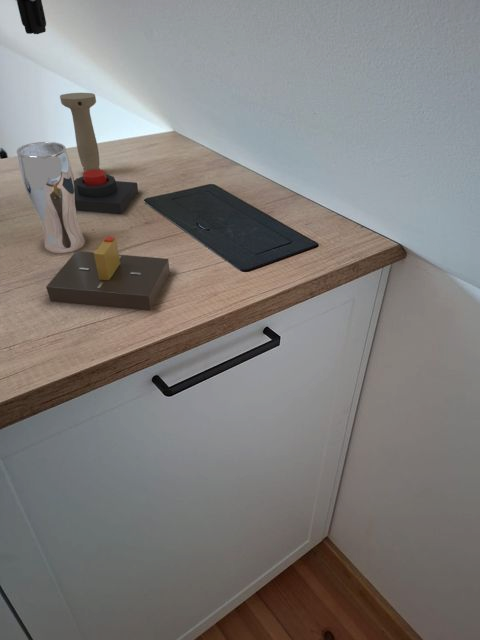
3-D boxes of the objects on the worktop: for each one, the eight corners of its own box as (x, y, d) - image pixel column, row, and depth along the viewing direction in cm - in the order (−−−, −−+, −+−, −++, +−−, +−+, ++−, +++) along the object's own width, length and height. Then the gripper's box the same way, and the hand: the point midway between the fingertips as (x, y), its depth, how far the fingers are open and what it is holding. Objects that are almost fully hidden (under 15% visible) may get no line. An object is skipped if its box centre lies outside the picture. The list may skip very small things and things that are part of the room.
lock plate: (50, 302, 67) (45, 285, 65) (79, 265, 74) (75, 249, 72) (150, 311, 66) (148, 294, 64) (170, 273, 73) (168, 257, 72)
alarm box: (57, 210, 89) (52, 188, 86) (79, 189, 96) (75, 168, 94) (121, 215, 88) (118, 193, 85) (138, 193, 96) (135, 173, 93)
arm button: (81, 185, 88) (79, 176, 87) (89, 177, 92) (87, 168, 90) (102, 187, 88) (100, 178, 87) (110, 179, 91) (108, 170, 90)
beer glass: (35, 242, 79) (7, 146, 70) (76, 230, 83) (55, 138, 73) (52, 259, 75) (25, 160, 66) (95, 246, 79) (75, 151, 69)
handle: (75, 171, 103) (58, 93, 94) (106, 168, 105) (93, 91, 96) (77, 180, 100) (60, 99, 90) (110, 176, 102) (96, 97, 92)
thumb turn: (109, 280, 66) (103, 252, 64) (99, 279, 67) (93, 251, 64) (120, 263, 70) (115, 236, 67) (111, 262, 70) (105, 235, 67)
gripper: (-78, -146, 59) (-26, 33, 71) (41, -142, 58) (74, 39, 70) (-42, -138, 65) (1, 27, 77) (67, -135, 64) (94, 32, 76)
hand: (36, 32), depth 73 cm, fingers closed
